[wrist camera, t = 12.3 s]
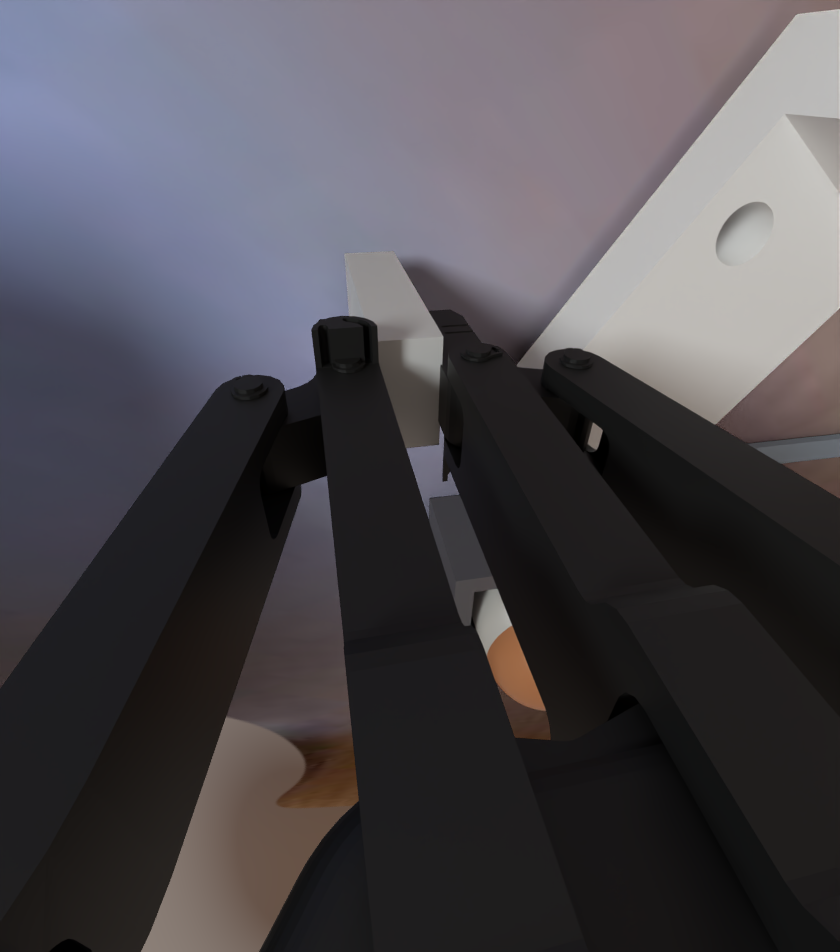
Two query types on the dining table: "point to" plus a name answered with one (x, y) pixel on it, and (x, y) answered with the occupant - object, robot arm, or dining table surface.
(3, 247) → the dining table surface
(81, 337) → the dining table surface
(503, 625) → the orange and white capsule
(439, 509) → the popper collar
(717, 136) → the bracket
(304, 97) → the dining table surface
